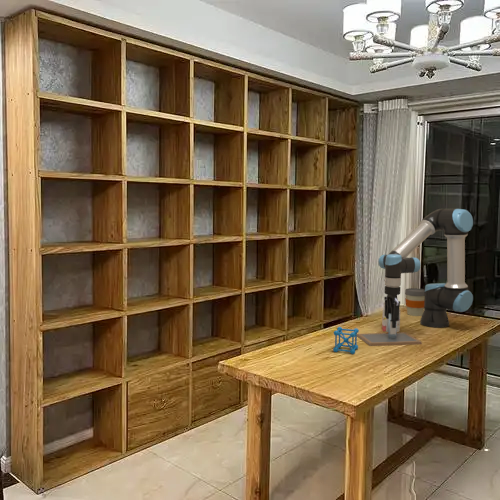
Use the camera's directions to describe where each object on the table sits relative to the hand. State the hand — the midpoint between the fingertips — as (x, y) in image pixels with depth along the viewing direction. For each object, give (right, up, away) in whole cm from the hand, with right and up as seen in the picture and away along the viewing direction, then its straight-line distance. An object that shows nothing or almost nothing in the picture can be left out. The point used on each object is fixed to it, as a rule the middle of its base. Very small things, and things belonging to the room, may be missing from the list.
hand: (390, 332), depth 261 cm
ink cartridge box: (+5, -2, +20) cm, 20 cm away
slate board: (-1, -4, 0) cm, 4 cm away
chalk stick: (+1, -2, 0) cm, 3 cm away
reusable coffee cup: (+30, +2, +60) cm, 67 cm away
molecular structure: (-26, -6, -18) cm, 32 cm away
